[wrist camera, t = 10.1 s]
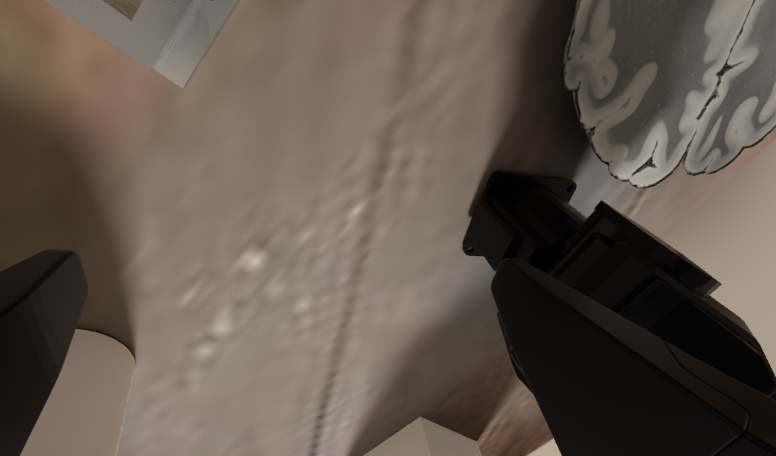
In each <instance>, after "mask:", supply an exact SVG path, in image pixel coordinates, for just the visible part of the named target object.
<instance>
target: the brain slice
mask: <svg viewBox="0 0 776 456" xmlns="http://www.w3.org/2000/svg"><path fill="white" fill-rule="evenodd" d="M564 64H565V69H564V81H565V87H566V88H567V89H568V90H570V91H573V99H574V103H575V107H576V111H577V115H578V119H579V122H580V125H581V128H583V129H585V131H586V133H587V136H588V138H589V141H590V143H591V146H592V148H593V151H594V153H595V154H596V155H597V157H598V158H599V159H600V160H601V161H602V162H604V163H605V164H607V165H608V169H609V173H610V174H611V175H612V176H613V177H615V178H616V179H618V180H620V181H623V182H626V181H629V182H630V184H631V185H632V186H634V187H636V188H649V187H653V186H655V185H657V184H659V183H660V182H662V181H663V180H664V179H666V178H667V177H668V176H670V175H671V174H672V173H673V172H674V171H675V169H676V168H677V167H678V166H679V164H680V162H682V164H683V166H684V168H685V170H686V172H687V174H688V175H693V176H695V175H699V174H703V173H706V174H712V173H716V172H718V171H719V170H721V169H723V168H725V167H726V166H728V165H729V164H730V163H732V162H733V161H734V160H735V159H736V158H737V157H738V156H739V155H740V154H741V152H742V151H743V149H744V148H750V147H753V146H755V145H756V144H758V143H759V142H761V141H762V140H763V139H764V138H766V137H767V136H768V135H769V134H770V133H771V132H772V131H773V130H774V129H776V0H577V3H576V9H575V16H574V21H573V24H572V28H571V32H570V35H569V38H568V40H567V44H566V47H565V52H564Z"/></svg>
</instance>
